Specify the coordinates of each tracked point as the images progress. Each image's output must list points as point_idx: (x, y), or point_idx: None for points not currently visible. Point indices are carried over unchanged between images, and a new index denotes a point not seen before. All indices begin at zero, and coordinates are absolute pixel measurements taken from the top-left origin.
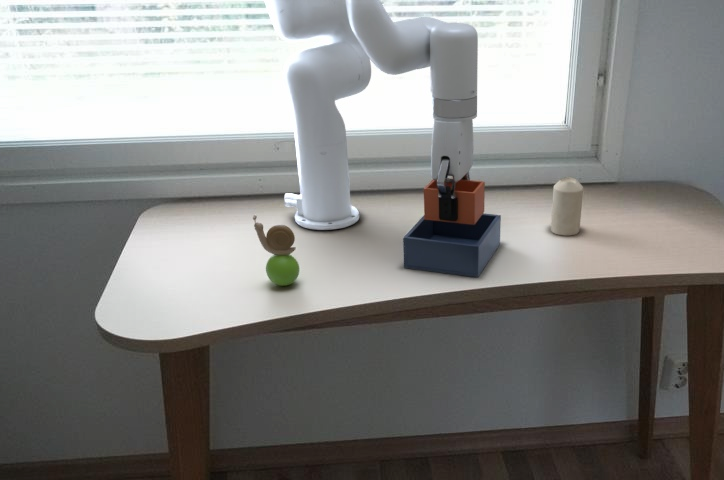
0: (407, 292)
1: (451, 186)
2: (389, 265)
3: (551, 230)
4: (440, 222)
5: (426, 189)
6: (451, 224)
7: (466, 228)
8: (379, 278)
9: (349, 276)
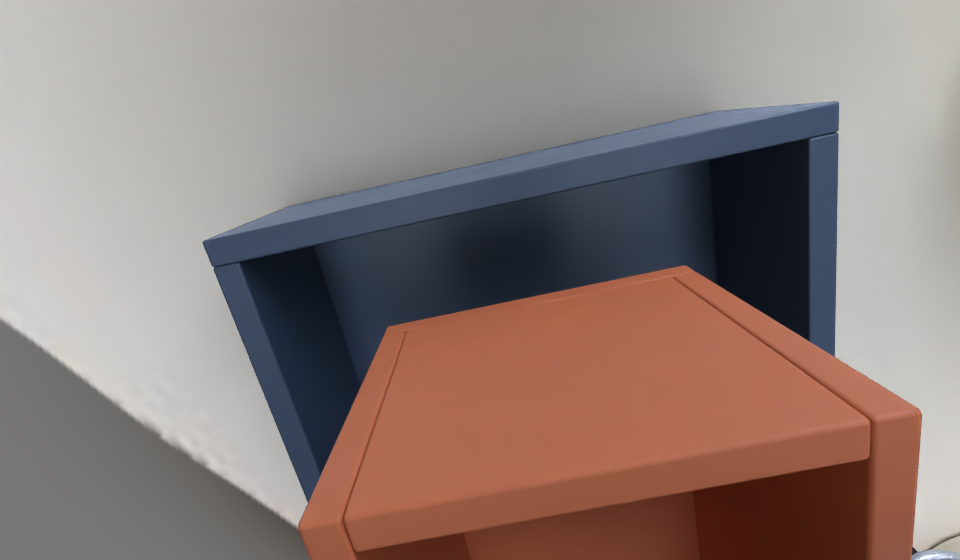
0: (102, 349)
1: (793, 553)
2: (271, 123)
3: (944, 544)
4: (753, 185)
5: (312, 556)
6: (751, 254)
7: None
8: (121, 167)
9: (27, 8)
